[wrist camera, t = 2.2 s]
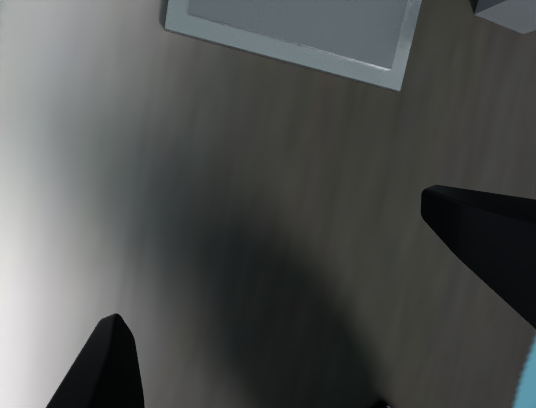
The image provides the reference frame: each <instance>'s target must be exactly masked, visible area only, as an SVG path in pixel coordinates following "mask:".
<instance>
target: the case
mask: <svg viewBox="0 0 536 408" xmlns="http://www.w3.org/2000/svg"><path fill="white" fill-rule="evenodd" d="M421 2H422V0H169V1H168V8H167V15H166V22H165V31H168V32H172V33H176V34H180V35H183V36H187V37H191V38H195V39H198V40H202V41H206V42H210V43H214V44H217V45H221V46H225V47H229V48H232V49H236V50H240V51H244V52H248V53H251V54H255V55H259V56H263V57H266V58H270V59H274V60H278V61H282V62H285V63H289V64H293V65H297V66H300V67H304V68H308V69H312V70H316V71H319V72H323V73H327V74H331V75H334V76H338V77H342V78H346V79H350V80H353V81H357V82H361V83H365V84H368V85H372V86H376V87H380V88H384V89H387V90H391V91H395V92H398V91H400V89H401V85H402V81H403V76H404V72H405V68H406V64H407V60H408V56H409V52H410V47H411V43H412V39H413V35H414V31H415V27H416V22H417V18H418V14H419V10H420V6H421Z"/></svg>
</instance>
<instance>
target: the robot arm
mask: <svg viewBox="0 0 536 408" xmlns="http://www.w3.org/2000/svg"><path fill="white" fill-rule="evenodd" d="M421 215H422V218H423V219H424V221H425V222H426V223H427V224H428V225H429V226H430V227H431V229H432V230H433V231H434V232H435V233H436V234H437V235H438V236H439V238H440V239H441V240H442V241H443V242H444V243H445V244H446V245H447V246H448V248H449V249H450V250H451V251H452V252H453V253H454V254H455V255H456V256H457V257H458V258H459V259H460V260H461V261H462V262H463V263H464V264H465V265H466V266H467V267H469V268H470V269H471V270H472V271H473V272H474V273H475V274H476V275H477V276H478V277H479V278H481V279H482V280H483V281H484V282H485V283H486V284H487V285H488V286H489V287H490V288H491V289H493V290H494V291H495V292H496V293H497V294H498V295H499V296H500V297H501V298H502V299H503V300H505V301H506V302H507V303H508V304H509V305H510V306H511V307H512V308H513V309H514V310H515V311H517V312H518V313H519V314H520V315H521V316H522V317H523V318H524V319H525V320H526V321H527V322H529V323H530V324H531V325H532V326H533V327H534V328H535V329H536V200H535V199H528V198H522V197H515V196H508V195H501V194H495V193H488V192H481V191H475V190H468V189H461V188H454V187H448V186H441V185H434V186H431V187H428V188H426V189H424V190H423V191H422V194H421ZM46 408H145V407H144V395H143V388H142V382H141V376H140V370H139V363H138V357H137V351H136V345H135V340H134V337H133V334H132V332H131V331H130V329H129V328H128V326H127V325H126V323H125V322H124V320H123V319H122V317H121V316H120V315H119V314H116V313H115V314H113V315H110V316H108V317H105V318H103V319H101V320H100V321H99V322H98V324H97V326H96V327H95V329H94V331H93V332H92V334H91V335H90V337H89V339H88V340H87V342H86V344H85V345H84V347H83V348H82V350H81V352H80V353H79V355H78V356H77V358H76V360H75V361H74V363H73V365H72V366H71V368H70V369H69V371H68V373H67V374H66V376H65V377H64V379H63V381H62V382H61V384H60V386H59V387H58V389H57V390H56V392H55V394H54V395H53V397H52V399H51V400H50V402H49V403H48V405H47V407H46ZM374 408H391V407H390V406H389V405H388V403H387V402H385V401H382V402H380V403H378V404H377V405H376V406H375V407H374Z"/></svg>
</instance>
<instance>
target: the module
mask: <svg viewBox="0 0 536 408" xmlns="http://www.w3.org/2000/svg"><path fill="white" fill-rule="evenodd" d="M474 15H477V16H479V17H482V18H484V19H487V20H489V21H492V22H494V23H497V24H499V25H502V26H504V27H507V28H509V29H512V30H514V31H517V32H519V33H522V34H525V33H528V32H531V31H534V30H536V0H478V3H477V7H476V10H475V14H474Z"/></svg>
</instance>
